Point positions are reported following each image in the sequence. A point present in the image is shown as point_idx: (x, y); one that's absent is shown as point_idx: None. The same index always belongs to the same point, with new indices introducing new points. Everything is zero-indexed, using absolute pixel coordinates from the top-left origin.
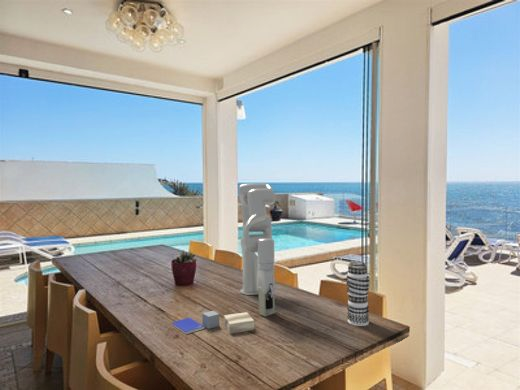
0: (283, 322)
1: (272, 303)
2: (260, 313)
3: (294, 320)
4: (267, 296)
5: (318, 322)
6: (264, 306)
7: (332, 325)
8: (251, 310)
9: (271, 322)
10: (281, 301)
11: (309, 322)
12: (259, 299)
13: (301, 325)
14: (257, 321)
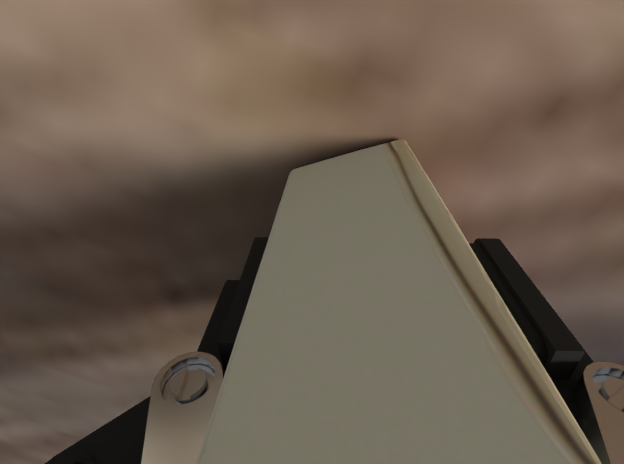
0: (94, 270)
1: None
2: (366, 152)
3: (129, 350)
4: (144, 451)
5: (76, 431)
6: (270, 236)
7: (26, 456)
8: (597, 95)
9: (105, 173)
10: None
11: (79, 401)
12: (426, 256)
13: (23, 348)
14: (162, 14)
